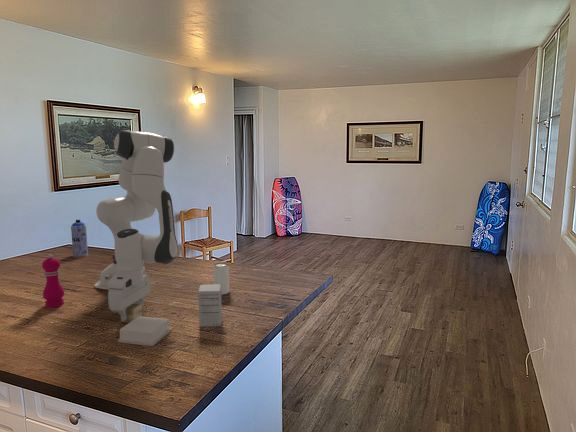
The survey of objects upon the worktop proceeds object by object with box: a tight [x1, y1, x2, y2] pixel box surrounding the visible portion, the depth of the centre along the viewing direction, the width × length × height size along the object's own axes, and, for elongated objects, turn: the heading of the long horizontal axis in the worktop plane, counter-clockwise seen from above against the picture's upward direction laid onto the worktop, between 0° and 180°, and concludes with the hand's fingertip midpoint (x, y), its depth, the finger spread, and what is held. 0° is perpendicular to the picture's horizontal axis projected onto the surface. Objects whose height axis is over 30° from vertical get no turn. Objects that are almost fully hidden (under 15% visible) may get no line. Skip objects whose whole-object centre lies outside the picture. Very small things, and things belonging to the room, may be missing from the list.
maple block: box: [120, 303, 143, 323], centre depth 153 cm, size 5×5×5 cm
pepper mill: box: [41, 253, 65, 309], centre depth 166 cm, size 7×7×20 cm
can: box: [212, 262, 230, 296], centre depth 181 cm, size 6×6×12 cm
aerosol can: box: [70, 219, 89, 258], centre depth 242 cm, size 8×8×20 cm
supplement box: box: [197, 283, 223, 328], centre depth 150 cm, size 7×7×13 cm
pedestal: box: [117, 315, 173, 347], centre depth 140 cm, size 12×12×4 cm
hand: (132, 314), depth 153 cm, fingers open, 8 cm apart
